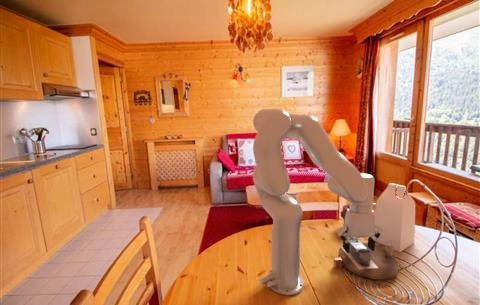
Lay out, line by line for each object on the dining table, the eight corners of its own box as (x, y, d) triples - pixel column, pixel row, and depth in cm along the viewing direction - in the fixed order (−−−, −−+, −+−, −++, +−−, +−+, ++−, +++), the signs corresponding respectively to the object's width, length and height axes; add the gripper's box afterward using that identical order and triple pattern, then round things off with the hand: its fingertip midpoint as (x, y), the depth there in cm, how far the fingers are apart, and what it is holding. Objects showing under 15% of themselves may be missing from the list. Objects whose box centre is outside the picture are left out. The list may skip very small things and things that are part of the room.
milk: (371, 239, 110) (375, 183, 106) (386, 231, 116) (390, 179, 111) (400, 251, 100) (405, 191, 95) (414, 243, 106) (420, 185, 101)
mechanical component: (359, 225, 123) (365, 235, 113) (338, 224, 125) (342, 234, 115) (360, 202, 121) (366, 210, 111) (339, 201, 123) (343, 209, 113)
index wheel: (337, 271, 88) (338, 254, 87) (339, 242, 106) (340, 228, 105) (402, 285, 80) (404, 267, 79) (393, 252, 98) (394, 237, 97)
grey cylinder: (361, 267, 86) (362, 255, 86) (345, 248, 98) (345, 237, 97) (372, 266, 87) (373, 254, 86) (354, 247, 98) (355, 237, 98)
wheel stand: (350, 279, 85) (351, 270, 85) (332, 266, 92) (333, 258, 92) (379, 265, 92) (379, 257, 91) (360, 254, 99) (360, 246, 98)
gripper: (377, 201, 93) (374, 243, 96) (333, 204, 92) (331, 246, 95) (390, 209, 86) (387, 254, 89) (342, 212, 85) (340, 257, 88)
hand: (358, 249), depth 92 cm, fingers open, 9 cm apart
